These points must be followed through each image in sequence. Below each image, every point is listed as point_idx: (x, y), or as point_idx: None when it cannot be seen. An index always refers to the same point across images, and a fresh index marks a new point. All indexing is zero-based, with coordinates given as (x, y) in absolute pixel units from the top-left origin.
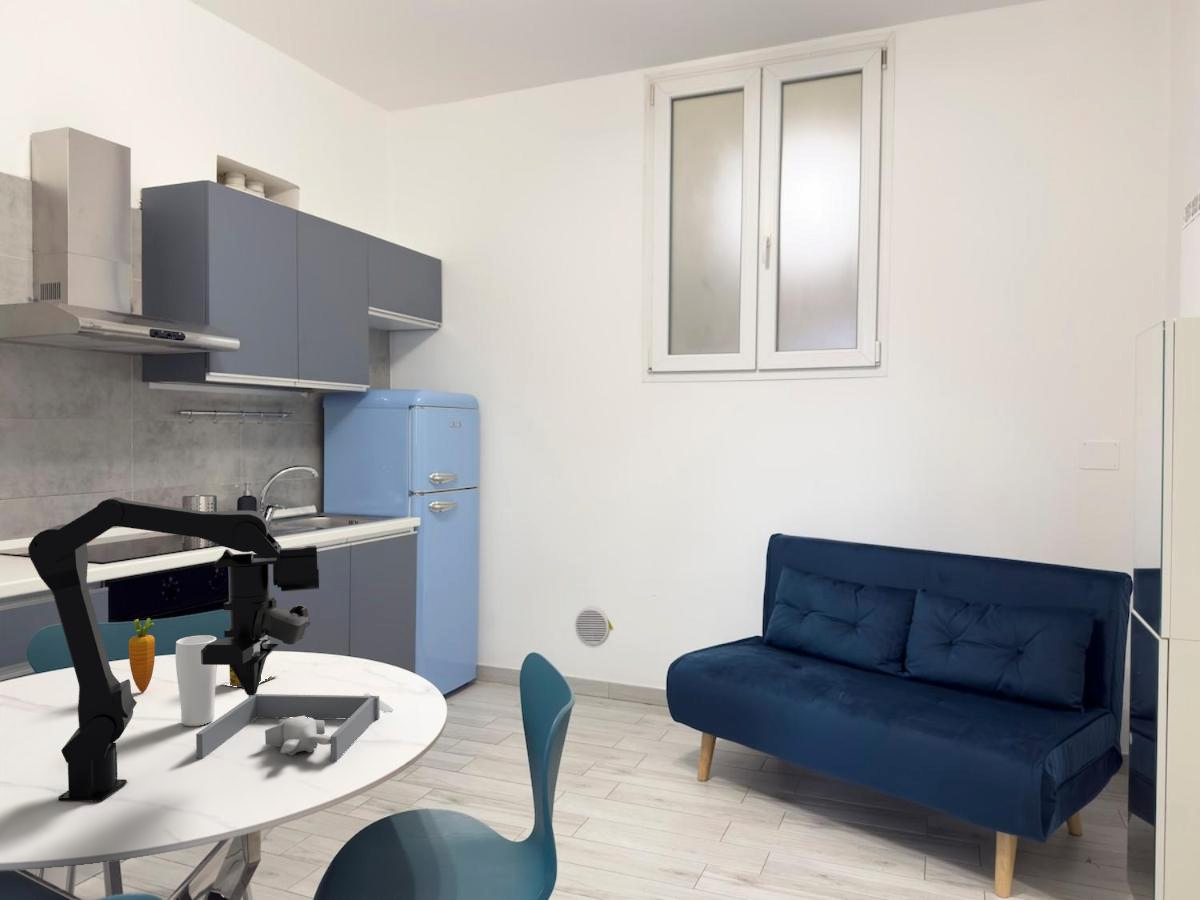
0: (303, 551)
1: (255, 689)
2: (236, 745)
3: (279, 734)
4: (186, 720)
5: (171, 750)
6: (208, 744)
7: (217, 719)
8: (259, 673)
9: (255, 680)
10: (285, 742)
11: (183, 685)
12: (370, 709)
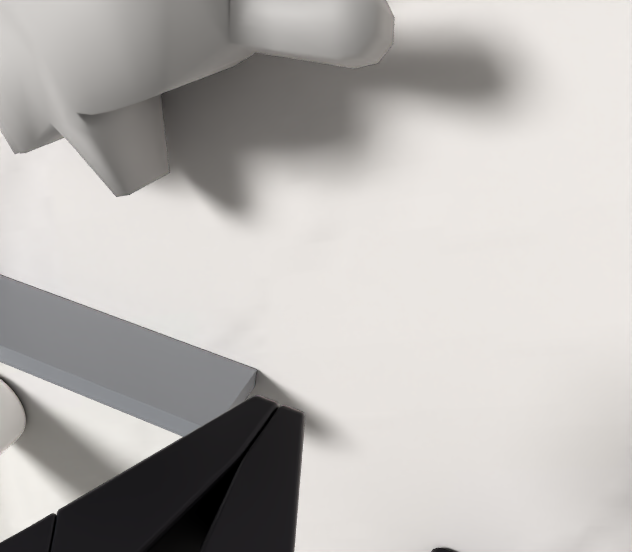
0: None
1: (270, 433)
2: (143, 278)
3: (127, 123)
4: (15, 437)
5: None
6: (201, 376)
7: (71, 389)
8: (138, 540)
9: (260, 528)
10: (319, 48)
11: None
12: None
